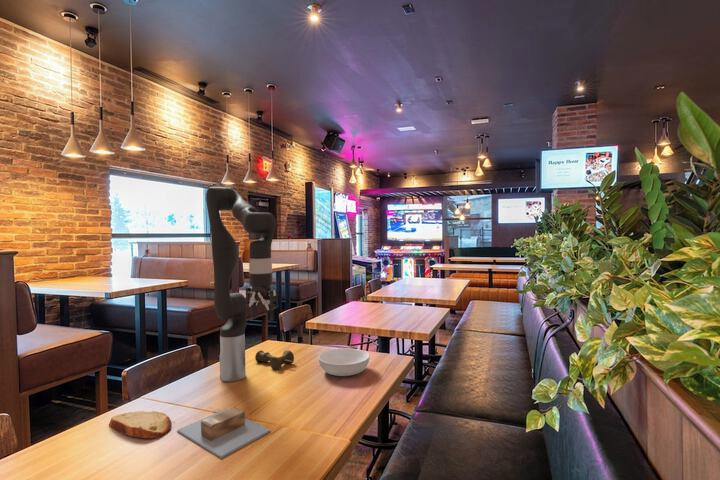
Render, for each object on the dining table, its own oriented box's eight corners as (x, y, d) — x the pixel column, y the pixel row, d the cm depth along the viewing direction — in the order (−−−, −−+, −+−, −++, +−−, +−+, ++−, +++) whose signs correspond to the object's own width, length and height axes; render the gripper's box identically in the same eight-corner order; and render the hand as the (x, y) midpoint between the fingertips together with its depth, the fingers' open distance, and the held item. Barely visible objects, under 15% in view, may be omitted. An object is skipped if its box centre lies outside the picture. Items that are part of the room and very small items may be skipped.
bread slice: (111, 420, 121) (111, 408, 120) (175, 410, 127) (174, 399, 127) (95, 451, 104) (94, 438, 104) (169, 437, 110) (169, 424, 110)
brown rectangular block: (235, 419, 118) (234, 406, 118) (244, 424, 115) (244, 410, 115) (201, 435, 110) (200, 420, 109) (211, 441, 107) (210, 426, 106)
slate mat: (177, 431, 113) (177, 429, 113) (225, 410, 125) (225, 408, 125) (221, 458, 99) (221, 456, 99) (270, 431, 112) (270, 429, 112)
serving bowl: (379, 368, 161) (379, 352, 161) (351, 386, 143) (350, 368, 143) (338, 360, 172) (338, 344, 172) (307, 375, 154) (307, 358, 154)
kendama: (266, 359, 176) (301, 365, 166) (250, 366, 168) (286, 373, 157) (265, 346, 176) (300, 351, 165) (250, 352, 167) (285, 358, 157)
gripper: (283, 271, 130) (284, 319, 130) (256, 269, 138) (257, 314, 139) (265, 274, 124) (266, 324, 124) (238, 271, 132) (239, 318, 133)
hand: (261, 318), depth 132 cm, fingers open, 8 cm apart
